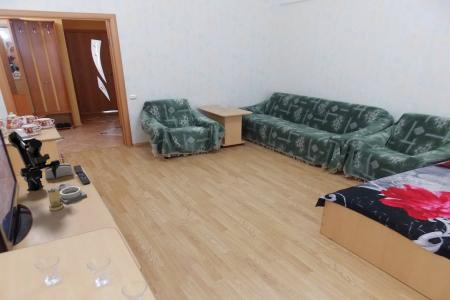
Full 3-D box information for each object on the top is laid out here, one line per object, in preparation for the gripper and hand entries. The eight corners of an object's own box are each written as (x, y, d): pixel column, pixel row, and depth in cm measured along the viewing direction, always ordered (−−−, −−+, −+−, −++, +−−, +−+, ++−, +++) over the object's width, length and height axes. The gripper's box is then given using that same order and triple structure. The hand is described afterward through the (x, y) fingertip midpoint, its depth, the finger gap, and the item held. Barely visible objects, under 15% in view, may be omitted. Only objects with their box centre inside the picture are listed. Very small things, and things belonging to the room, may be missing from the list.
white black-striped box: (72, 171, 200) (71, 160, 194) (73, 175, 197) (72, 165, 191) (45, 176, 191) (42, 165, 186) (45, 180, 188) (43, 169, 183)
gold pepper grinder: (46, 210, 151) (42, 191, 147) (54, 204, 158) (50, 185, 154) (59, 211, 151) (55, 192, 147) (66, 204, 158) (62, 186, 154)
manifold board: (47, 191, 171) (46, 185, 169) (68, 185, 180) (66, 178, 179) (66, 204, 158) (64, 196, 157) (86, 196, 167) (85, 189, 166)
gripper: (17, 154, 146) (28, 179, 143) (56, 146, 159) (67, 169, 156) (15, 164, 153) (26, 188, 150) (53, 155, 167) (63, 178, 164)
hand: (46, 180), depth 155 cm, fingers open, 9 cm apart
